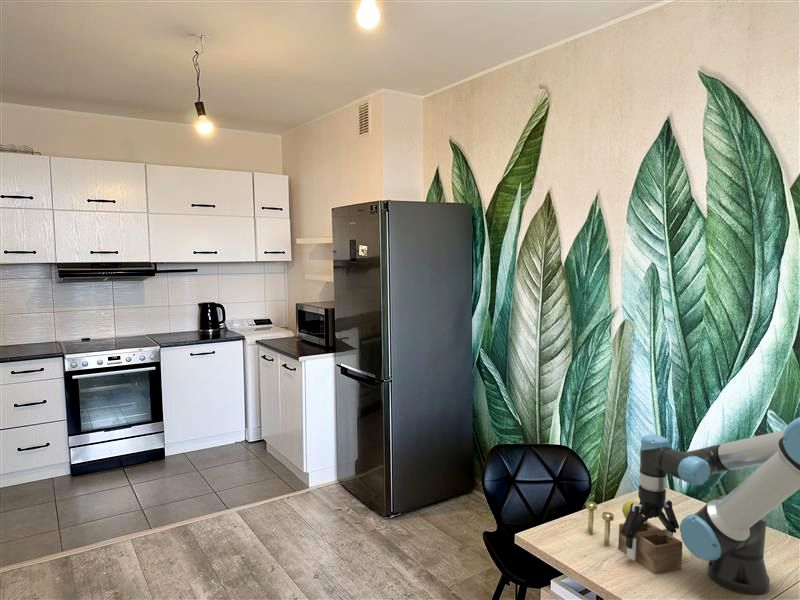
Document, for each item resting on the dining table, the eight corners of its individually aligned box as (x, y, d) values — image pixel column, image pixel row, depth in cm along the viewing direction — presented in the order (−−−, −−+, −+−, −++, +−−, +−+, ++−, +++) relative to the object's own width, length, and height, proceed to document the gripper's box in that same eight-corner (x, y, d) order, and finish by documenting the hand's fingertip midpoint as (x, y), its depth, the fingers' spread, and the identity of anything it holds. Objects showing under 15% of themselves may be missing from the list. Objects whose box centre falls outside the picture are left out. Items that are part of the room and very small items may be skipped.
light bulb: (639, 537, 183) (641, 507, 182) (618, 531, 187) (620, 502, 186) (645, 529, 188) (646, 501, 187) (624, 523, 192) (625, 495, 192)
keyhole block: (681, 568, 164) (682, 542, 164) (654, 573, 161) (655, 547, 161) (643, 543, 178) (644, 519, 178) (618, 548, 175) (619, 523, 175)
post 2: (614, 546, 176) (616, 515, 176) (605, 548, 175) (607, 517, 175) (607, 541, 180) (608, 511, 179) (598, 543, 178) (600, 512, 178)
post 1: (597, 534, 184) (599, 505, 183) (589, 536, 183) (590, 506, 182) (591, 530, 187) (592, 501, 186) (582, 531, 186) (584, 502, 185)
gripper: (674, 477, 176) (671, 542, 177) (610, 486, 168) (607, 554, 169) (694, 486, 169) (690, 554, 170) (627, 496, 161) (624, 567, 162)
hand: (648, 554), depth 170 cm, fingers open, 13 cm apart
